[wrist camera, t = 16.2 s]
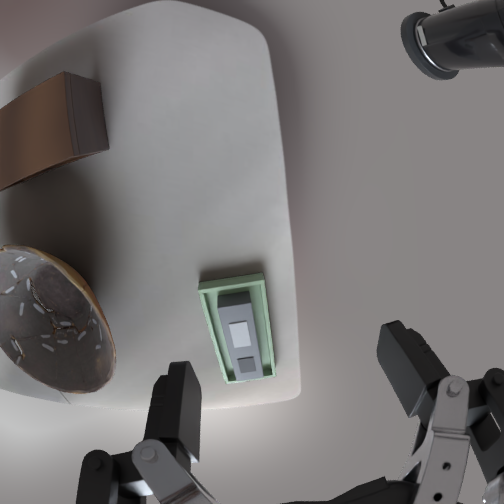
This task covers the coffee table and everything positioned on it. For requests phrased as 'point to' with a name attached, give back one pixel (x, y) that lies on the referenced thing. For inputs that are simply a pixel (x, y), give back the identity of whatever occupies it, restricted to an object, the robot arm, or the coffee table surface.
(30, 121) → the brown wooden open box
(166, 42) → the coffee table surface
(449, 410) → the robot arm
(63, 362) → the bowl
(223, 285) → the tray
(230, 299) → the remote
